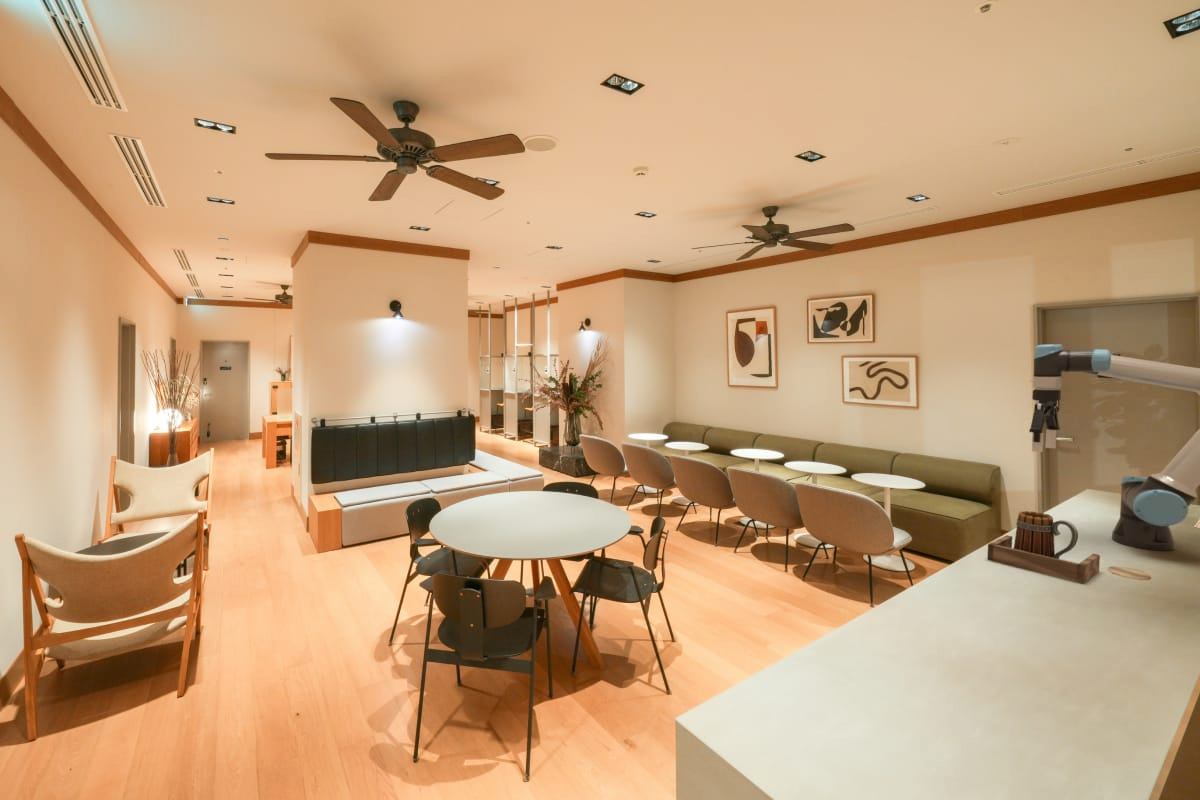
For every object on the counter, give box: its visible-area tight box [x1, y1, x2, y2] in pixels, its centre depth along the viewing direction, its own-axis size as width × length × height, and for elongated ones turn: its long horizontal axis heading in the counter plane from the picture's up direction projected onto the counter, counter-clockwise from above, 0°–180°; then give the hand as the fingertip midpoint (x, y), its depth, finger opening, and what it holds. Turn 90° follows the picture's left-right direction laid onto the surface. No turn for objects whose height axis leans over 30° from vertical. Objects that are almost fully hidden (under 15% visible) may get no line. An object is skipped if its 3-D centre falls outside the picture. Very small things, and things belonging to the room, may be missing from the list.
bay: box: [986, 535, 1101, 585], centre depth 163 cm, size 16×23×5 cm
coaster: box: [1107, 565, 1152, 581], centre depth 156 cm, size 9×9×1 cm
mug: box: [1012, 510, 1079, 559], centre depth 164 cm, size 16×11×15 cm
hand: (1043, 449), depth 186 cm, fingers open, 13 cm apart
